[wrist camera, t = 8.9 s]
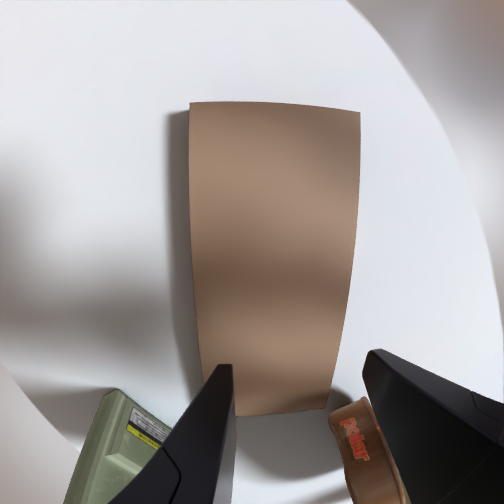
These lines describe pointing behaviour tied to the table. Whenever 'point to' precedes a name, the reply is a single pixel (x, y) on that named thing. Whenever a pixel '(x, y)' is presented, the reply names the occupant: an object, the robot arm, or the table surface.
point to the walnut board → (272, 245)
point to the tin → (366, 455)
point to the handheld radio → (114, 450)
